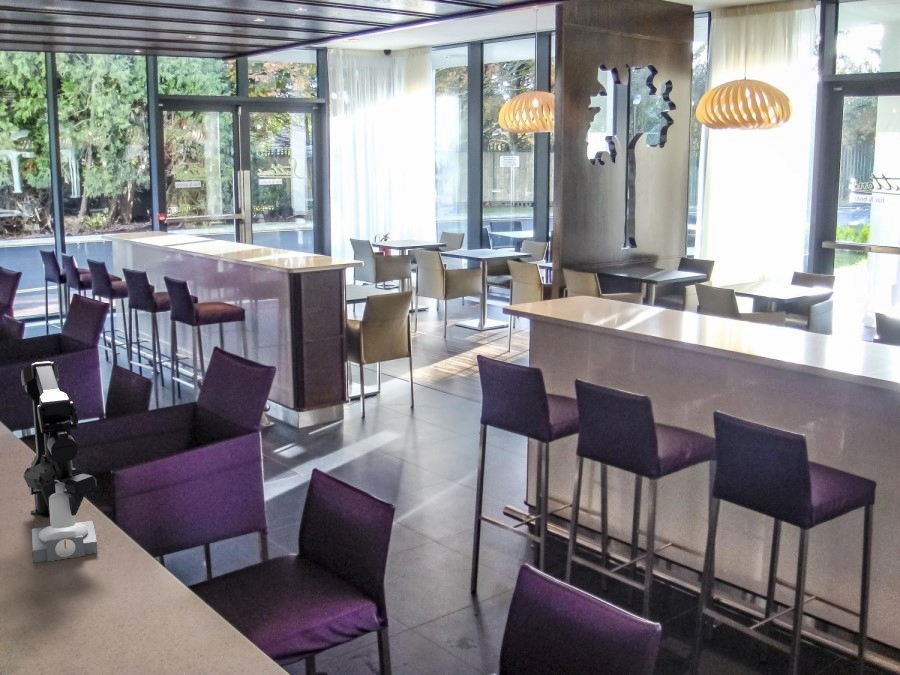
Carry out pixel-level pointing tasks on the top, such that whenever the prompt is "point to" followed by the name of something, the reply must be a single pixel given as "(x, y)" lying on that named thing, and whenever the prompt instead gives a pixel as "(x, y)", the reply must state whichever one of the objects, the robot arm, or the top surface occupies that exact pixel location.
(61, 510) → the eye dropper bottle
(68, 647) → the top surface
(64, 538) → the dial scale
